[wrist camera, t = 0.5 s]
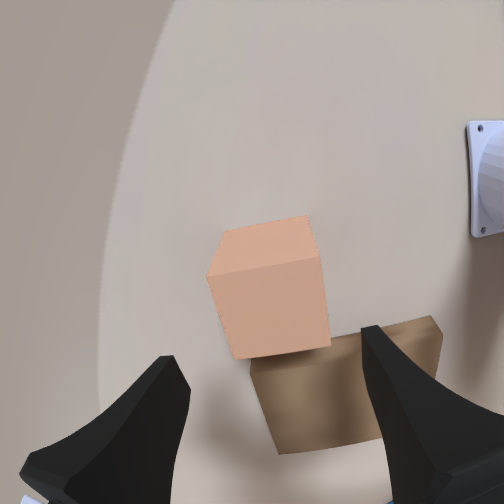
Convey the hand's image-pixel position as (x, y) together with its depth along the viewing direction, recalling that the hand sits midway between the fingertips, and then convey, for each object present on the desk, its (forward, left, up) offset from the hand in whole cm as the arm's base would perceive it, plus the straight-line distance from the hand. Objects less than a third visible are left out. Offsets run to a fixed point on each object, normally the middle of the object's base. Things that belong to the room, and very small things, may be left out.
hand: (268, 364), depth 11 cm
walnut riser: (-4, +13, -9) cm, 17 cm away
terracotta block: (0, 0, -9) cm, 9 cm away
